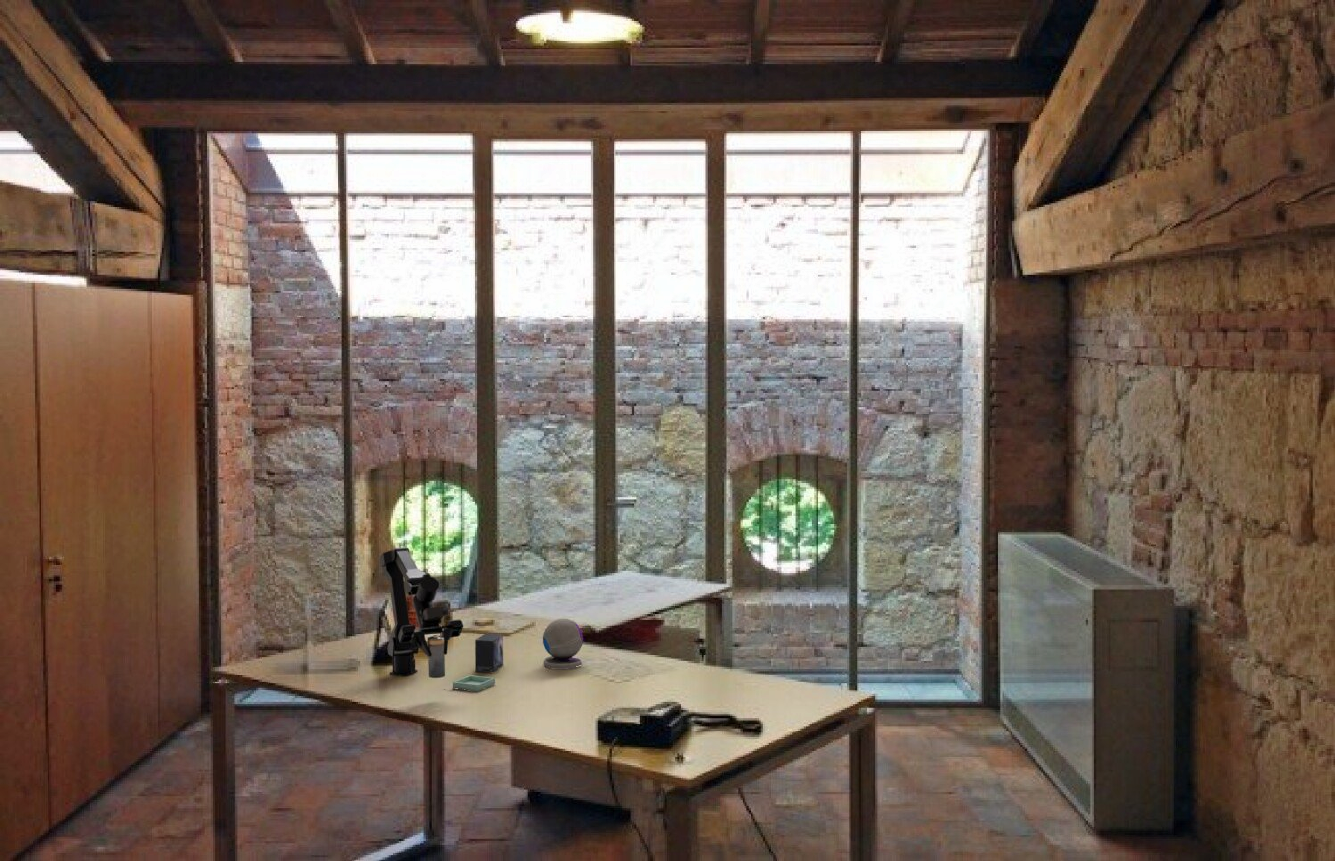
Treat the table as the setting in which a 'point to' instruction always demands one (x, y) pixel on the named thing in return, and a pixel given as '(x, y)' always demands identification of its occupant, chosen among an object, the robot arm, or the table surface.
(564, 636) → the webcam
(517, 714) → the table surface
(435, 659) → the lidded jar
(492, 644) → the small box
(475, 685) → the tray
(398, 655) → the robot arm
